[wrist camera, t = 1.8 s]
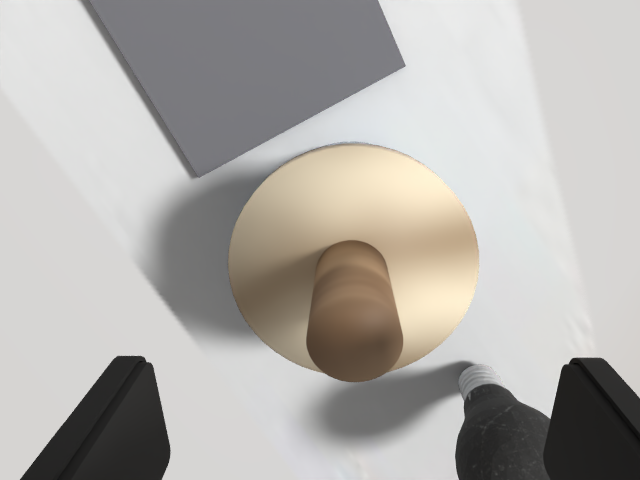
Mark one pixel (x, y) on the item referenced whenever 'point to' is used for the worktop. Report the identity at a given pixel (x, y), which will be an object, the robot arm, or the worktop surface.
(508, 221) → the worktop surface
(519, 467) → the light bulb
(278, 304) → the lid
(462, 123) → the worktop surface
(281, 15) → the mat
